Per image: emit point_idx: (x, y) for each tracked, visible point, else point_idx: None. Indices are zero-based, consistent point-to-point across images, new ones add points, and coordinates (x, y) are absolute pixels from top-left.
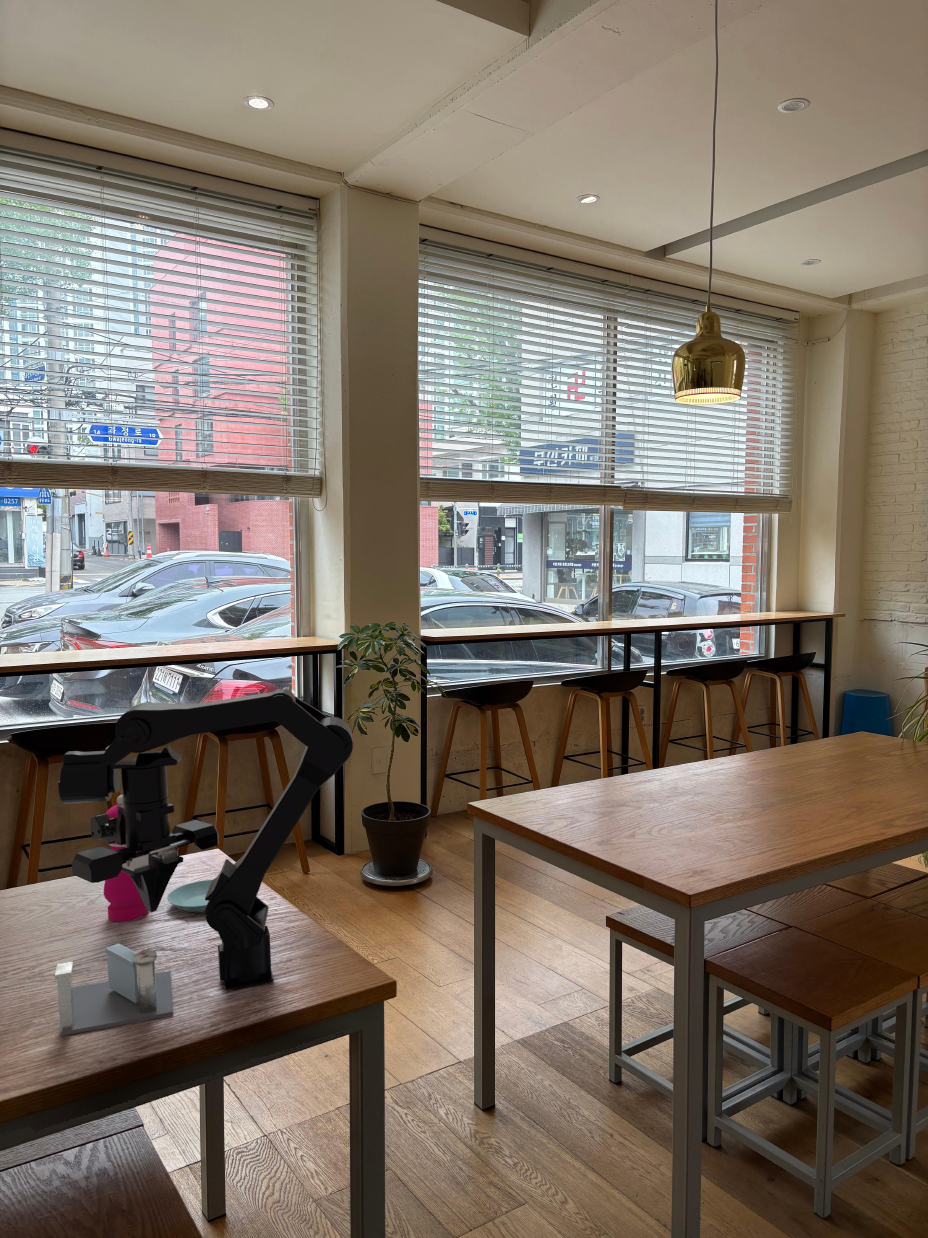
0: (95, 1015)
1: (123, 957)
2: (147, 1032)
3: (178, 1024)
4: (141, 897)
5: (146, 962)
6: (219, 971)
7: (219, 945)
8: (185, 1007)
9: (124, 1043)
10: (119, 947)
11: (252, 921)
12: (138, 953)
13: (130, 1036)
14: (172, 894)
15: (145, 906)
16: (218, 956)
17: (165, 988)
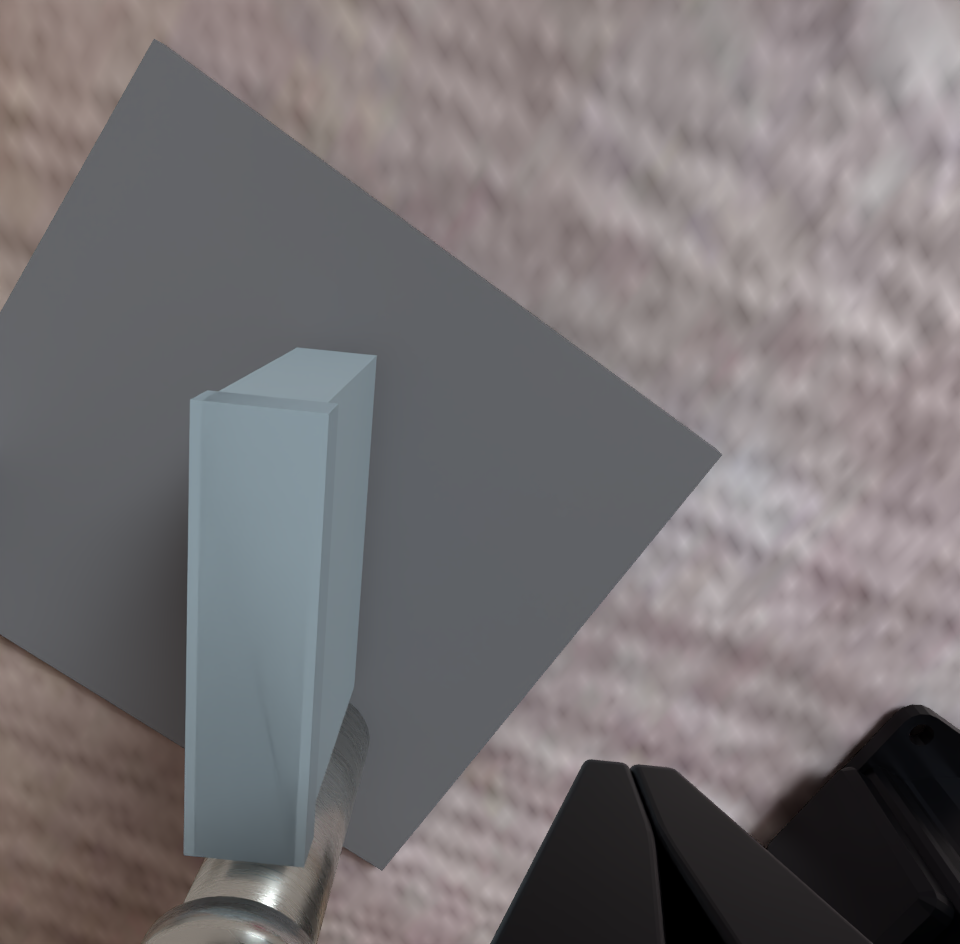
0: (82, 554)
1: (187, 716)
2: None
3: (349, 936)
4: (531, 873)
5: None
6: (798, 861)
7: (919, 930)
8: (483, 839)
9: (77, 863)
10: (280, 509)
11: None
12: (202, 939)
13: (131, 836)
14: None
15: (573, 787)
16: (856, 897)
17: (536, 626)
